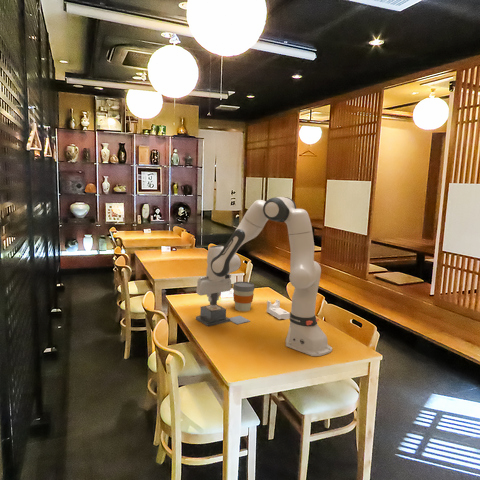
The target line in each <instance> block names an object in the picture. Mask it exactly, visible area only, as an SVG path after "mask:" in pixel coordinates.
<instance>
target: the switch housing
mask: <svg viewBox="0 0 480 480" xmlns="http://www.w3.org/2000/svg"><path fill="white" fill-rule="evenodd" d="M207 306H210V304H209V305H202V306H200V314H199V315H197V316H195V320H196V321H198V322H200V323H201V324H203V325H204V326H206V327H207V328H208V327H212V326H213V327H214V326H216V325H221V324H226V323H231V321H230V319H229V318H230V317H227V308H225V307H223V306H222V305H219V304H217V306H218V307H220V308H221V309H218V310H213V311H211V310H209V309H207V308H206V307H207Z"/></svg>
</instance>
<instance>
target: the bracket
mask: <svg viewBox="0 0 480 480" xmlns="http://www.w3.org/2000/svg"><path fill="white" fill-rule="evenodd" d="M280 306H281V300H280V299H275V301H274V303H272V301H271V300H267V301H266V313H269V315H271V316H273V317H275V318H277V319H278V320H282V319H283V320H290V312H288V311H287V310H285V309H284V308H281V307H280Z"/></svg>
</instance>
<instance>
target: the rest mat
mask: <svg viewBox="0 0 480 480" xmlns="http://www.w3.org/2000/svg"><path fill="white" fill-rule="evenodd" d="M228 318H229V319H230V323H233V324H234V325H237V326H238V325H241V324H245V323H249V322H251V320H250V319H247V318H246V317H243V316H242V315H237V316H232V317H228Z"/></svg>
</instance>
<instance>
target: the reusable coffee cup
mask: <svg viewBox="0 0 480 480" xmlns="http://www.w3.org/2000/svg"><path fill="white" fill-rule="evenodd" d="M232 289H233V294H232V295H233V301H234V310H236V311H238V312H248V311H251V307H252V303H253V299H254V291H255V284H254V283H252V282H249V281H237V282H234V283H233V287H232Z"/></svg>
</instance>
